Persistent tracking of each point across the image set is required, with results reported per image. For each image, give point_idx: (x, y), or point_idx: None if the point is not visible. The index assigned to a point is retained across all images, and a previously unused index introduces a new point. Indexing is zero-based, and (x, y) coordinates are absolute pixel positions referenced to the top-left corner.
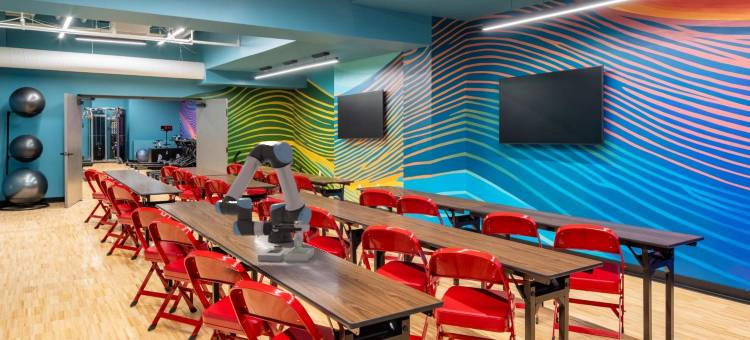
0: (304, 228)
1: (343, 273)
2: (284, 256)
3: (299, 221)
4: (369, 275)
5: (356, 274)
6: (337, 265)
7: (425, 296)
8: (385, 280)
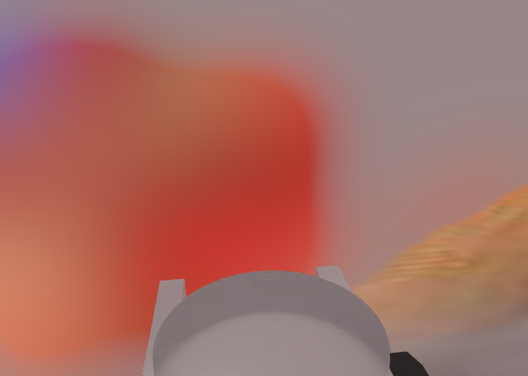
0: None
1: (524, 294)
2: None
3: (272, 315)
4: (486, 231)
5: (503, 258)
6: (398, 334)
7: None
8: (510, 203)
